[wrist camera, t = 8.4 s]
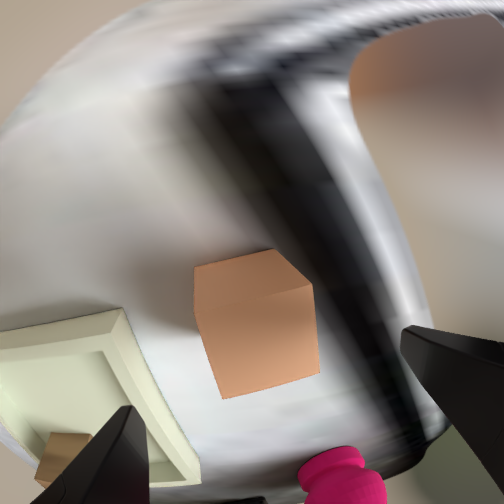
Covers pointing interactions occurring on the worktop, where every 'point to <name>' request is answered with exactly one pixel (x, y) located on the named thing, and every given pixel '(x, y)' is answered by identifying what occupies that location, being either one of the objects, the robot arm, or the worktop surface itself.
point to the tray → (88, 390)
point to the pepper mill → (341, 479)
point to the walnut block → (59, 455)
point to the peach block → (256, 322)
